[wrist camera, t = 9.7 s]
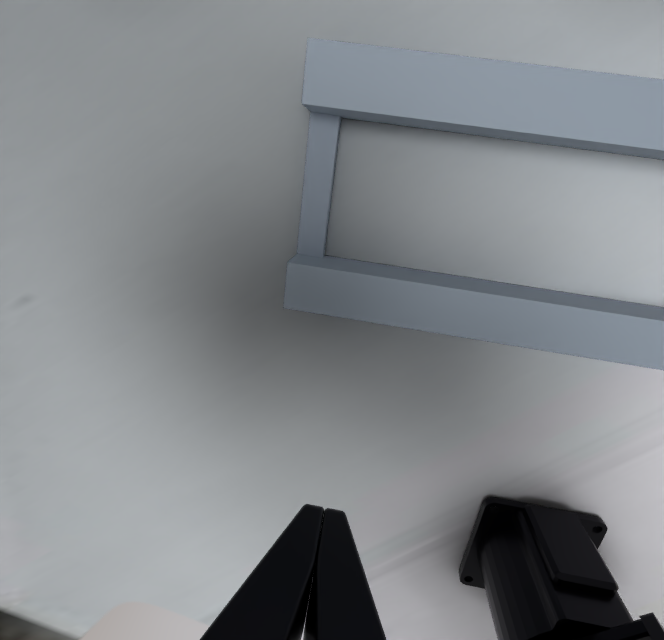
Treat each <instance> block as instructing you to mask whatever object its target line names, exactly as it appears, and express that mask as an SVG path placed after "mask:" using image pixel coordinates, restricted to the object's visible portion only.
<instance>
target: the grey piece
mask: <svg viewBox="0 0 664 640" xmlns="http://www.w3.org/2000/svg"><path fill="white" fill-rule="evenodd" d="M302 105H304V106H305V107H306V108H307V109H308V110H309V111H310V122H309V132H308V143H307V153H306V163H305V173H304V183H303V194H302V204H301V214H300V224H299V234H298V245H297V254H296V255H295V256H294V257H293V258H292V259H291V260H289V261H288V262H287V272H286V283H285V294H284V305H283V308H285V309H291V310H297V311H304V312H310V313H316V314H322V315H328V316H334V317H340V318H346V319H353V320H359V321H365V322H371V323H377V324H383V325H389V326H395V327H402V328H408V329H414V330H420V331H426V332H432V333H438V334H444V335H450V336H457V337H463V338H469V339H475V340H481V341H487V342H493V343H499V344H506V345H512V346H518V347H524V348H530V349H536V350H542V351H548V352H555V353H561V354H567V355H573V356H579V357H585V358H591V359H597V360H603V361H610V362H616V363H622V364H628V365H634V366H640V367H646V368H652V369H659V370H664V307H658V306H651V305H645V304H638V303H632V302H625V301H619V300H612V299H606V298H599V297H593V296H586V295H580V294H573V293H567V292H560V291H553V290H547V289H540V288H534V287H527V286H521V285H514V284H508V283H501V282H495V281H488V280H482V279H475V278H469V277H462V276H456V275H449V274H443V273H436V272H430V271H423V270H417V269H410V268H404V267H397V266H391V265H384V264H378V263H371V262H365V261H358V260H352V259H345V258H339V257H332V256H326V255H324V254H325V246H326V238H327V230H328V222H329V214H330V205H331V197H332V189H333V181H334V173H335V165H336V157H337V149H338V141H339V133H340V125H341V118H348V119H356V120H364V121H371V122H379V123H387V124H394V125H402V126H410V127H417V128H425V129H433V130H440V131H448V132H456V133H463V134H471V135H478V136H486V137H494V138H501V139H509V140H517V141H524V142H532V143H540V144H547V145H555V146H563V147H570V148H578V149H586V150H593V151H601V152H609V153H616V154H624V155H632V156H639V157H647V158H655V159H662V160H664V80H663V79H654V78H646V77H637V76H629V75H620V74H612V73H603V72H595V71H586V70H578V69H569V68H561V67H553V66H544V65H536V64H527V63H519V62H510V61H502V60H493V59H485V58H476V57H468V56H459V55H451V54H443V53H434V52H426V51H417V50H409V49H400V48H392V47H383V46H375V45H366V44H358V43H349V42H341V41H333V40H324V39H316V38H307V50H306V61H305V72H304V83H303V94H302Z"/></svg>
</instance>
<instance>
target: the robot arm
mask: <svg viewBox="0 0 664 640" xmlns="http://www.w3.org/2000/svg"><path fill="white" fill-rule="evenodd" d="M492 506H496V507H494V508H490V507H492ZM323 515H324V516H323ZM322 521H323V522H322ZM321 527H322V528H321ZM606 532H607V526H606V524H605V523H604V521H603V520H602V519H601V518H599V517H597V516H591V515H586V514H581V513H575V512H570V511H565V510H559V509H554V508H549V507H543V506H538V505H533V504H527V503H522V502H517V501H511V500H506V499H501V498H496V497H490V498H487V499H485V500H484V502H483V504H482V507H481V510H480V512H479V515H478V518H477V521H476V524H475V527H474V530H473V532H472V535H471V538H470V541H469V544H468V547H467V549H466V552H465V555H464V558H463V561H462V564H461V567H460V569H459V577H460V581H461V582H462V583H463V584H465V585H470V586H474V587H479V588H484V589H485V590H486V594H487V598H488V602H489V606H490V610H491V614H492V618H493V622H494V626H495V630H496V634H497V638H498V640H664V628H663V627H662V625H661V624H660V622H659V621H658V619H657V618H656V617H655V615H654V614H653V612H652V613H649V614H645V615H642V616H639V617H640V618H641V619H639V620H636V621H633V619H632V617H631V615H630V614H629V612H628V610H627V608H626V607H625V605H624V603H623V601H622V599H621V598H620V596H619V594H618V592H617V590H618V589H619V588H618V585H617V583H616V581H615V580H614V578H613V576H612V575H611V573H610V571H609V569H608V568H607V566H606V564H605V562H604V561H603V559H602V557H601V555H600V554H599V552H598V550H597V549H598V547H599V545H600V543H601V542H602V540H603V538H604V536H605V534H606ZM313 573H314V574H313ZM312 579H313V580H312ZM311 585H312V586H311ZM309 596H310V597H309ZM308 602H309V603H308ZM307 608H308V609H307ZM306 613H307V615H306ZM305 619H306V621H305ZM304 624H305V628H304ZM303 629H304V638H303V640H386V637H385V634H384V631H383V628H382V625H381V622H380V619H379V615H378V612H377V609H376V606H375V603H374V600H373V597H372V594H371V591H370V588H369V585H368V582H367V579H366V575H365V572H364V569H363V566H362V563H361V560H360V557H359V554H358V551H357V548H356V545H355V542H354V539H353V535H352V532H351V529H350V526H349V523H348V520H347V517H346V515H345V513H344V512H343V511H340V510H335V509H330V508H327V509H325V511H324V508H323V507H320V506H315V505H310V504H306V505H304V506H303V507H302V508H301V510H300V511H299V512H298V513H297V515H296V516H295V517H294V519H293V520H292V521H291V522H290V524H289V525H288V526H287V528H286V529H285V530H284V531H283V533H282V534H281V535H280V537H279V538H278V539H277V541H276V542H275V543H274V544H273V546H272V547H271V548H270V550H269V551H268V552H267V553H266V555H265V556H264V557H263V559H262V560H261V561H260V562H259V564H258V565H257V566H256V568H255V569H254V570H253V571H252V573H251V574H250V575H249V577H248V578H247V579H246V581H245V582H244V583H243V584H242V586H241V587H240V588H239V590H238V591H237V592H236V593H235V595H234V596H233V597H232V599H231V600H230V601H229V602H228V604H227V605H226V606H225V608H224V609H223V610H222V611H221V613H220V614H219V615H218V617H217V618H216V619H215V620H214V622H213V623H212V624H211V626H210V627H209V628H208V630H207V631H206V632H205V633H204V635H203V636H202V637H201V639H200V640H301V637H302V633H303Z"/></svg>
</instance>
